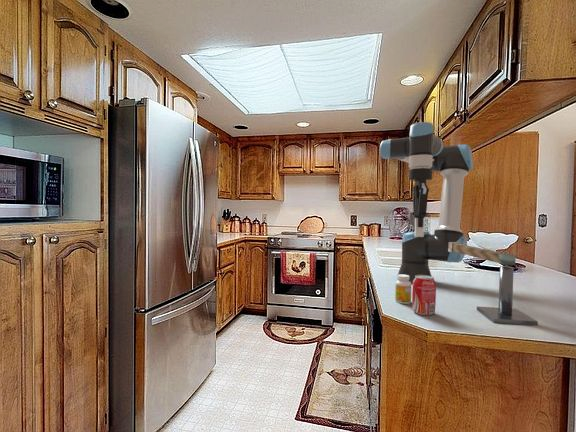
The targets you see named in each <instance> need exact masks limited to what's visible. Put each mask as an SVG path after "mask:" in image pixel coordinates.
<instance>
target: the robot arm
mask: <svg viewBox="0 0 576 432" xmlns="http://www.w3.org/2000/svg"><path fill="white" fill-rule="evenodd" d="M434 132H435V131H434V124H433V123H432V122H428V121H427V122H426V121H421V122H415V123H413V124H411V125H410V129H409V137H408V136H407V137H401V138H399V137H398V138H389V139H385V140H382V141H381V143H380V145H379V154H380V157H381V158H382V159H384V160H391V159H395V160H397V161H398V160H399V161H402V162H404V163H407V164H408V168H409V170H408V180H409V181H412V182H413V181H414V185H413V186H412V190H411V193H412V210H413V211H412V215H413V218H414V231H409V232H405V233H403V235H402V241H401V264H400V267H399V270H398V273H397V276H398V275H400V274H404V275H409V282H411V285H413V280H414V279H415V275H428V276H432V273H431V269H430V267H429V261H436V262H437V261H438V262H444V263H460V262H462V261H463V260H464V258H465V256H466V255H465V254H461V253H457V252H448V243H449V242H459V243H461V244H463V245H468V237H466V236H464V231H463V230H462V229H461V218H462V207H463V195H464V194H463V193H464V183H465V177H468V175H469V171H471V170H473V168H474V159H473V158H474V157H473V153H472V148H471V146H470V145H469V144H467V143H465V144H453V145H445V146H444V143H443V140H442V139H441V138H440V137H439V136H437V135H435V134H434ZM433 172H439V175H440V176H441V177H443V178H442V185H441V194H440V195H441V197H440V207H439V209H440V210H439V219H438V227H437V228H435V229H434V232H433V234H431V233H430V231H429V230H425V217H427V209H428V208H427V207H428V197H429V193H430V192H429V191H430V188H429V187H428V185H427V181H431V180H432V179H433ZM432 277H433V276H432Z"/></svg>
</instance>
